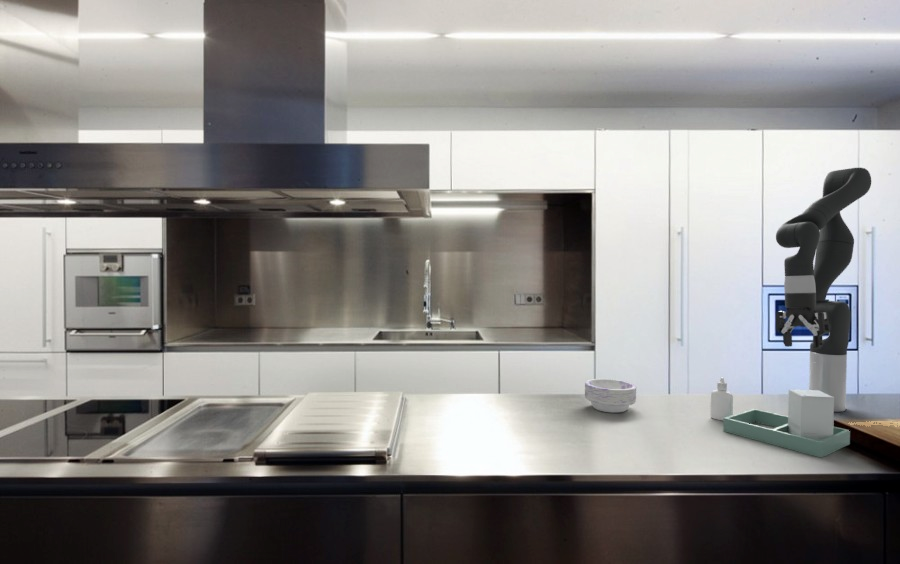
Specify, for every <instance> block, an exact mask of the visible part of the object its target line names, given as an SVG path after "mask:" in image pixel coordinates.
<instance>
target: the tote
mask: <svg viewBox="0 0 900 564" xmlns="http://www.w3.org/2000/svg"><path fill="white" fill-rule="evenodd" d="M755 421H756V422H755ZM752 422H753V423H757V422H759V423H758V424H761V423H763V424H762V425H766V424H767V426H769V427H770V426H771V427H774V428H768V427H765V426H760V425H756V424H753V423H752ZM749 423H750V424H749ZM849 430H850V429H846V428H842V427H837V426H833V435H832V436H830V437H828V438H825V439H823V440H821V441H817V440H813V439H809V438H805V437H801V436H797V435H793V434H789V433H788V415H783V414H779V413H776V412H775V413H774V412H770V411H766V410H761V409H756V408H752V409H748V410H746V411H742V412H739V413H735V414H733V415H731V416H728V417H725V418H723V421H722V431H723V432H726V433H730V434H734V435H737V436H739V437H740V436H741V437H743V438H744V437H745V438H747V439H751V440H755V441H757V442H758V441H759V442H762V443H767V444H770V445H772V446H773V445H774V446H777V447H781V448H783V449H788V450H791V451H795V452H799V453H803V454H807V455H810V456H814V457H817V458H824V457H825V456H828V455H830V454H832V453H834V452H837V451H838V450H840V449H843V448H844V447H847V446H849V445H850V444H851V430H850V431H849Z"/></svg>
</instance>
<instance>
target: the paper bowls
mask: <svg viewBox="0 0 900 564" xmlns="http://www.w3.org/2000/svg"><path fill="white" fill-rule="evenodd" d="M584 398H585V399H586V400H587V401H589V402H590V404H591V406H592V407H593V408H594V409H595V410H597V411H600V412H604V413H614V414H619V413H624V412H626V411H627V410H628V409H629V407H630V406H631V405H634V404H636V402H637V386H636V385H635V384H633V383H632V382H629V381H625V380H619V379H611V378H593V379H587V380H586V381H585V382H584Z"/></svg>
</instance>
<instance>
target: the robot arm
mask: <svg viewBox="0 0 900 564" xmlns="http://www.w3.org/2000/svg"><path fill="white" fill-rule="evenodd" d="M871 176H872V175H871V173H870V171H869V170H868V169H866V168H865V167H852V168H851V167H850V168H844V169H837V170H832V171H830V172H828V173H827V174H826V175H825V177H824V180H823V185H822V186H823V187H822V197H820V198H819V199H817V200H815V201H813V202H812V203H810V204H809V205H808V206H806V208H805V209H804V210H803V211H802V212H801V213H800V214H797V215H796V216H795V217H792V218H791V219H789V220H787V221H786V222H784V223H783V224H781V225H780V226H779V227H778V229H777V231H776V233H775V240H776V243H777V244H778V246H780V247H782V248H786V249H795V248H798V250H797V252H796V253H795V254H793V255H789V256H787V257H786V258H785V259H784V264H783V265H784V267H783V268H784V284H783V286H784V306H785V308H786V311H785V310H777V311H776V312H775V331H777V332H780V333H781V334H782V341H783V345H784V346H785V347H792V346H793V335H792V331H794V329H795V328H797V327H801V328H807V330H809V332H811V334H813V335H812V342H810V345H809V376H808V377H809V379H808V380H809V382H808V387H809V389H808V390H818V391H821V392H823V393H825V394H828V395H830V396H832V397H834V413H835V412H836V413H837V412H841V413H842V412H844V411H846V404H847V403H846V402H847V401H846V398H847V362H848V361H847V358H848V357H847V356H848V346H849V340H850V329H851V315H852V314H851V309H850V306H849V304H848V303H846V302H844V301H837V300H826V298H827V296H828V292H829V289H830V288H831V286H832V285H833V283H834V281H836V279H838V277H840V276H841V274H842V273H843V272H844V271H845V270H846V269H847V268H848V267H849V265H850V263H851V261H852V258H853V253H854V245H855V239H854V236H853V233H852V231H851V229H850V228H849V226H848V225H847V223H846V222H845V220H844V219H843V218H842V215H841V211H843V210H844V209H845V208H847V207H849V206H850V205H851V204H853V203H854V202H856V201H858V200H859V199H861V198H862V197H864V196H865V195H866V194H867V193H868V192H869V191H870V188H871V186H872V177H871ZM786 318H787V321H786ZM826 334H828V336H827V337H826V338H823V336H824V335H826Z"/></svg>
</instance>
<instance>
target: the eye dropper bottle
mask: <svg viewBox="0 0 900 564" xmlns="http://www.w3.org/2000/svg"><path fill="white" fill-rule="evenodd" d="M727 385H728V383H727V382H726V381H725V380H724V377H720V379H719V381H717V385H716V389H714V390H712V391H711V392H710V414H709V415H710V417H711V419H713V420H717V421H722V422H723V418H725V417H728V416H731V415H734V414H733V413H734V407H733V406H734V395H733V394H732V393H731V392H730V391H728V390H727V389H728V388H727Z"/></svg>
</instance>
